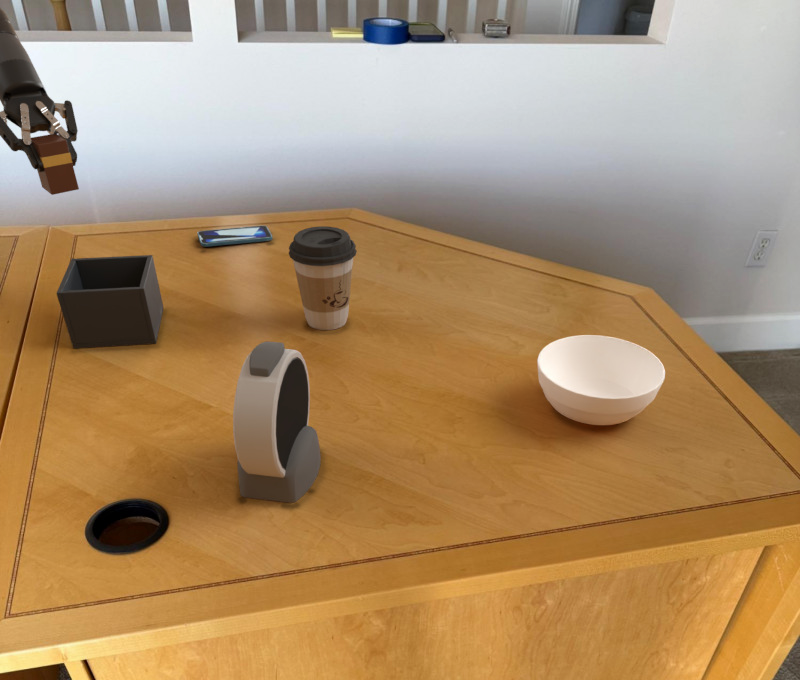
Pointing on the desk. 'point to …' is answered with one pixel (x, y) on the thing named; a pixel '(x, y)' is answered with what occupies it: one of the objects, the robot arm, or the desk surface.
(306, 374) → the alarm clock
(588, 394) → the bowl
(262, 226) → the smartphone
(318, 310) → the coffee cup
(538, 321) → the desk surface
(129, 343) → the trash bin
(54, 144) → the chocolate box
